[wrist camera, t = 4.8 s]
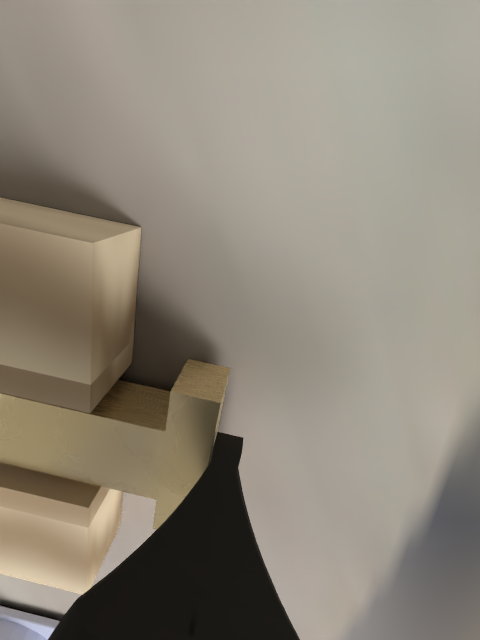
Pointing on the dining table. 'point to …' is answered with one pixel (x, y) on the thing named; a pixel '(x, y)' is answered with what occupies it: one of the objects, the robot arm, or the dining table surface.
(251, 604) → the robot arm
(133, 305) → the socket block
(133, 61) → the dining table surface
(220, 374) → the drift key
